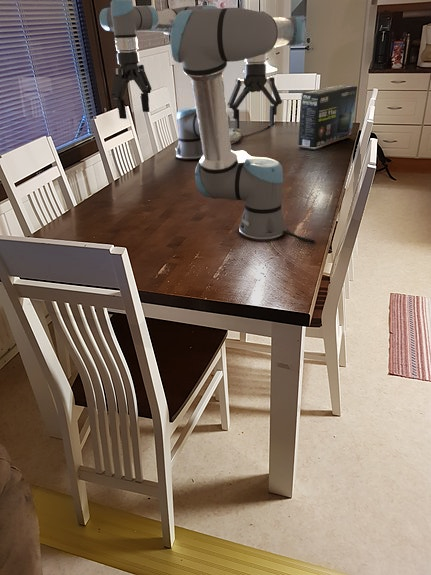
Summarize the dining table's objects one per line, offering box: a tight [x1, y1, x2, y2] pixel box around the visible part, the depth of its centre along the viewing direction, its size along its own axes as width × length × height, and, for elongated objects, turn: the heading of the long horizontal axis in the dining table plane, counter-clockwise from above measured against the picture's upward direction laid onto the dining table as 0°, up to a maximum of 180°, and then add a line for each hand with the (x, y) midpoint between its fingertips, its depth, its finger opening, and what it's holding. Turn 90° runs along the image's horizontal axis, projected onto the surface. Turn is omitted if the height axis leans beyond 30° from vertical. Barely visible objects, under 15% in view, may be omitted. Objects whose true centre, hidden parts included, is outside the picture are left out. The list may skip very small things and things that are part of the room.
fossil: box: [229, 126, 245, 145], centre depth 256 cm, size 18×11×15 cm
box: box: [234, 150, 252, 162], centre depth 190 cm, size 28×8×10 cm, turn 15°
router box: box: [297, 84, 358, 151], centre depth 238 cm, size 36×11×27 cm, turn 134°
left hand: (135, 115), depth 171 cm, fingers open, 13 cm apart
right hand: (254, 126), depth 171 cm, fingers open, 13 cm apart
